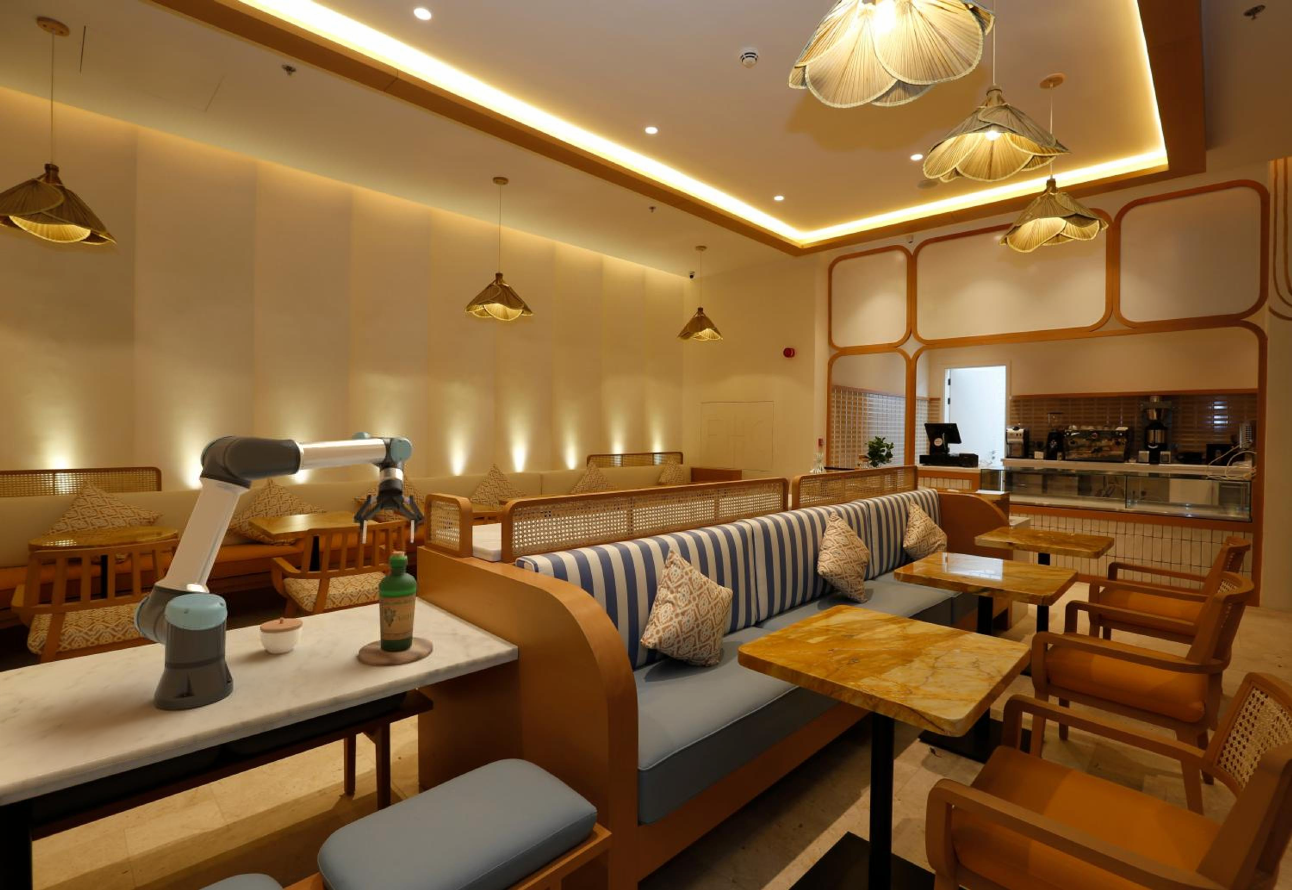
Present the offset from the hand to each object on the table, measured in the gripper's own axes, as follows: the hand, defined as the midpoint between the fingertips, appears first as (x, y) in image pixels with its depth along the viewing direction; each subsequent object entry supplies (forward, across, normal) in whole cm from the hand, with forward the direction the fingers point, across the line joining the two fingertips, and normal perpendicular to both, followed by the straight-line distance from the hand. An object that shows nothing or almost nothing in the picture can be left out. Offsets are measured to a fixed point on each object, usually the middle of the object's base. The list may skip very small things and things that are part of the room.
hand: (388, 540), depth 184 cm
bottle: (+29, -4, -12) cm, 32 cm away
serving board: (+30, -4, -13) cm, 33 cm away
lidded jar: (+22, +28, -24) cm, 43 cm away
